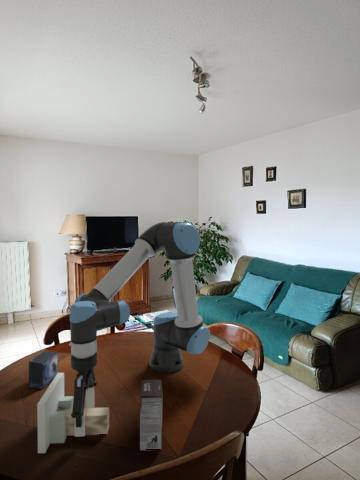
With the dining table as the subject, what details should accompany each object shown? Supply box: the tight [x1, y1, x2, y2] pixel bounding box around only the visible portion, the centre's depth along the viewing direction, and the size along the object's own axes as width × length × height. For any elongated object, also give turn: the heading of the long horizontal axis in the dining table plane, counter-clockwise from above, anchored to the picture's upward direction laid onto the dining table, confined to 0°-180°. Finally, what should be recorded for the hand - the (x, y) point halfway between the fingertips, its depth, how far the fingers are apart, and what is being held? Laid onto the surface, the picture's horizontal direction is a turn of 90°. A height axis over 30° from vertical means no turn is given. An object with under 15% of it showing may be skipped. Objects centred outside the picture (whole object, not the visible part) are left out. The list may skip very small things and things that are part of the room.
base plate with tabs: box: [36, 372, 74, 454], centre depth 96 cm, size 6×18×14 cm, turn 4°
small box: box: [28, 350, 59, 390], centre depth 125 cm, size 11×6×10 cm, turn 168°
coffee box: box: [139, 379, 163, 451], centre depth 93 cm, size 9×6×16 cm
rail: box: [56, 407, 110, 437], centre depth 96 cm, size 16×4×6 cm, turn 94°
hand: (85, 420), depth 97 cm, fingers open, 13 cm apart
